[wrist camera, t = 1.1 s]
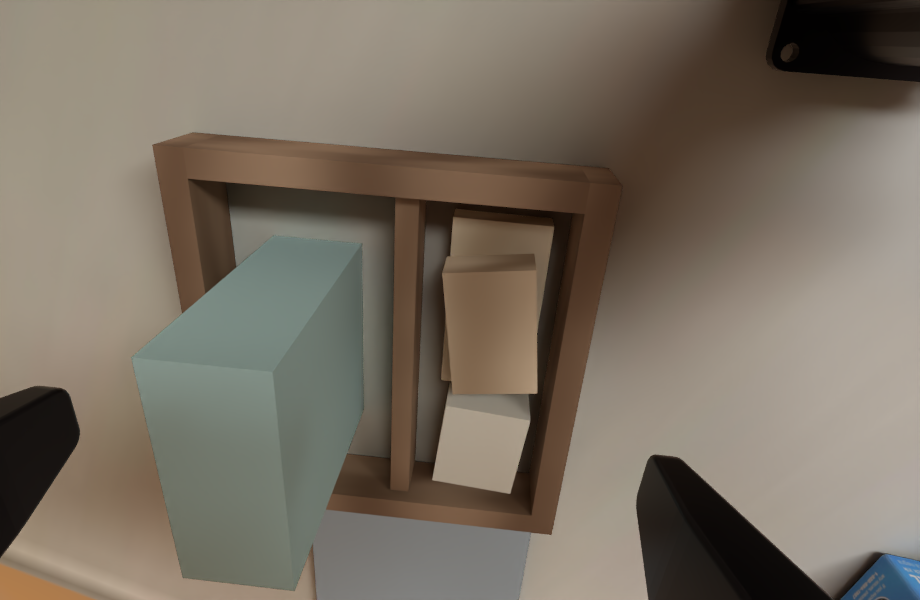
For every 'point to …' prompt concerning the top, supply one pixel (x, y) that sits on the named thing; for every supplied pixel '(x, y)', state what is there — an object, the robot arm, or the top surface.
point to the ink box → (888, 580)
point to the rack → (411, 293)
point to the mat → (415, 559)
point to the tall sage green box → (257, 409)
